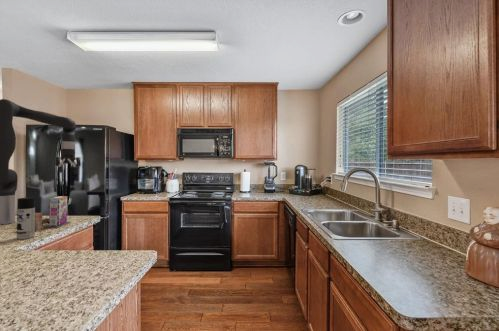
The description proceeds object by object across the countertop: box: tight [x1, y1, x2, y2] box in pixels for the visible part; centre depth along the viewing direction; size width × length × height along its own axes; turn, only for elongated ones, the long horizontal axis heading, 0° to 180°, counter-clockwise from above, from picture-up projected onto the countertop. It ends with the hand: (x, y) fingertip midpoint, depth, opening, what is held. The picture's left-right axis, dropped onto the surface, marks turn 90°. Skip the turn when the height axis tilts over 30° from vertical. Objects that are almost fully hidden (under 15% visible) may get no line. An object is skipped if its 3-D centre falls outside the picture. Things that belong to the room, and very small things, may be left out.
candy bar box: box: [48, 195, 68, 226], centre depth 149 cm, size 11×5×16 cm, turn 15°
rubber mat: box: [44, 221, 71, 229], centre depth 149 cm, size 6×13×1 cm, turn 8°
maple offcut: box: [35, 221, 43, 230], centre depth 139 cm, size 4×4×4 cm
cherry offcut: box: [35, 212, 43, 223], centre depth 139 cm, size 4×4×4 cm
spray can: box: [16, 196, 36, 240], centre depth 124 cm, size 7×7×20 cm
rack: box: [35, 217, 49, 233], centre depth 145 cm, size 9×22×4 cm, turn 8°
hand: (68, 172), depth 165 cm, fingers open, 8 cm apart
